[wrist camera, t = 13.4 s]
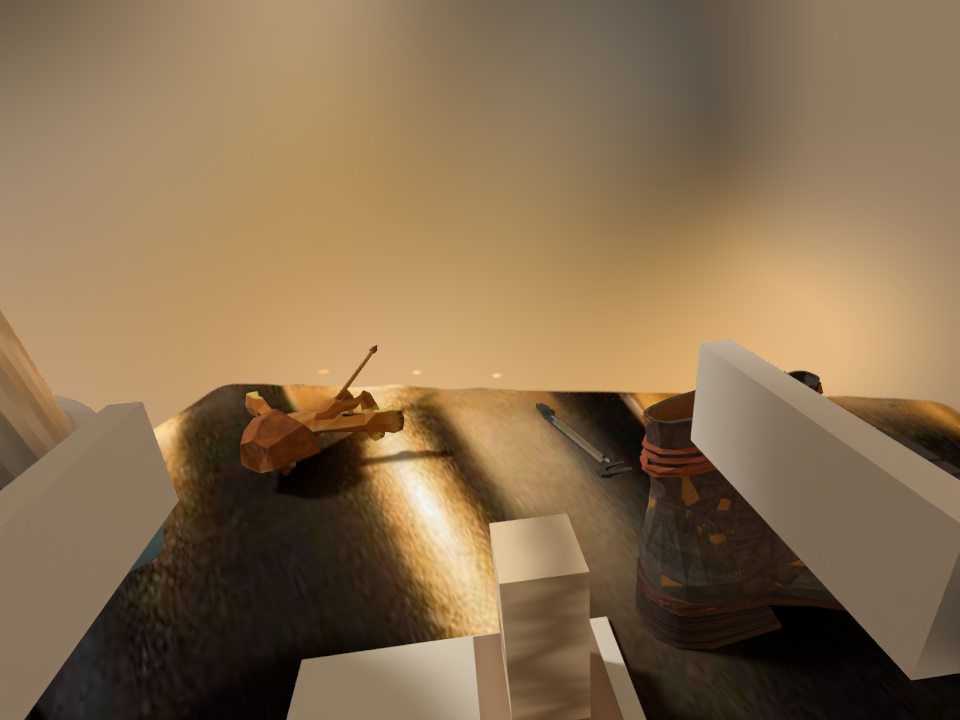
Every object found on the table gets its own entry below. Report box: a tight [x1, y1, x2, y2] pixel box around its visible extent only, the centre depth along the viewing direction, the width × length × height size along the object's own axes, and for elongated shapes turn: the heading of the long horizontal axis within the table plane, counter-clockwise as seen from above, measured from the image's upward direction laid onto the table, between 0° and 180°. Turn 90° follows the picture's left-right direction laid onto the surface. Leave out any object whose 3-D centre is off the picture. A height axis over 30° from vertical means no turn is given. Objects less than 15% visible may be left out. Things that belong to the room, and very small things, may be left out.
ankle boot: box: [636, 371, 847, 649], centre depth 43 cm, size 11×31×20 cm, turn 108°
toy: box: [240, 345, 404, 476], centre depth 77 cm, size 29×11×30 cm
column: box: [490, 514, 591, 720], centre depth 32 cm, size 5×5×12 cm
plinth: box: [473, 624, 624, 720], centre depth 35 cm, size 9×9×4 cm
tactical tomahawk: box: [536, 403, 632, 478], centre depth 73 cm, size 21×7×1 cm, turn 20°
